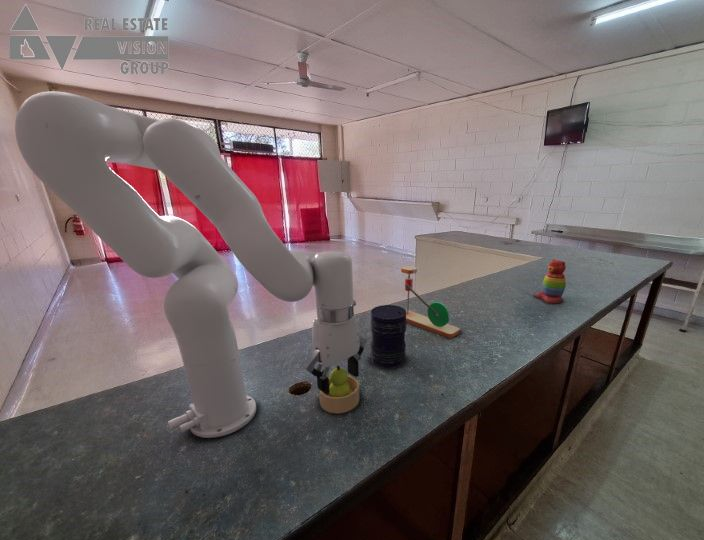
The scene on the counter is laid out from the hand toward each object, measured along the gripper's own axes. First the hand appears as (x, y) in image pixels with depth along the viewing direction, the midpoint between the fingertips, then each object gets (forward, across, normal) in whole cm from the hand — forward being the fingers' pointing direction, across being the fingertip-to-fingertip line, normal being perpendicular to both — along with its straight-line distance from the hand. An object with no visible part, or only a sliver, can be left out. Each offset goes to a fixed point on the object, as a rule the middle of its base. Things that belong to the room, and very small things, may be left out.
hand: (339, 382), depth 72 cm
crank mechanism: (+5, -48, -10) cm, 49 cm away
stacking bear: (+5, -109, +15) cm, 110 cm away
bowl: (+5, 0, 0) cm, 5 cm away
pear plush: (+5, 0, 0) cm, 5 cm away
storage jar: (+5, -21, -4) cm, 22 cm away
